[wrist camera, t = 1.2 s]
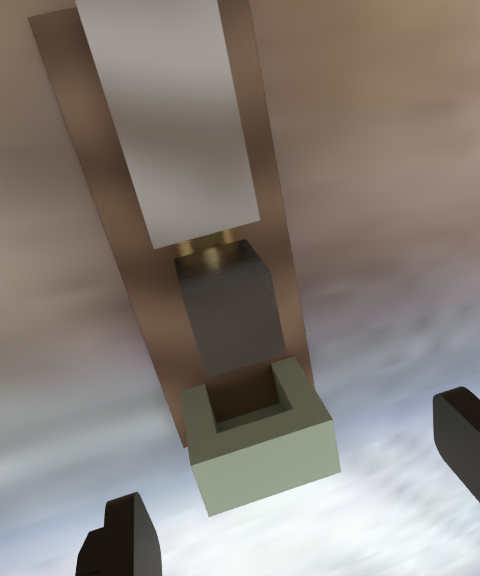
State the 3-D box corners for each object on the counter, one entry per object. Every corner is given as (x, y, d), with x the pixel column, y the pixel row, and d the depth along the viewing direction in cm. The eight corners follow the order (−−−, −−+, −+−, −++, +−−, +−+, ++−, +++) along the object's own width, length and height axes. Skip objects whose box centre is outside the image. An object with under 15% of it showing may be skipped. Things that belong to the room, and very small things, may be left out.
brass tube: (103, 17, 19) (85, -24, 13) (182, 0, 20) (207, -49, 13) (198, 338, 27) (220, 421, 20) (255, 321, 27) (295, 397, 20)
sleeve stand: (34, 22, 21) (-5, -5, 15) (237, -21, 22) (273, -62, 16) (181, 433, 32) (191, 507, 27) (310, 392, 33) (347, 455, 28)
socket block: (179, 391, 29) (190, 465, 23) (294, 356, 30) (332, 419, 24) (195, 436, 31) (209, 516, 25) (303, 402, 32) (340, 472, 26)
